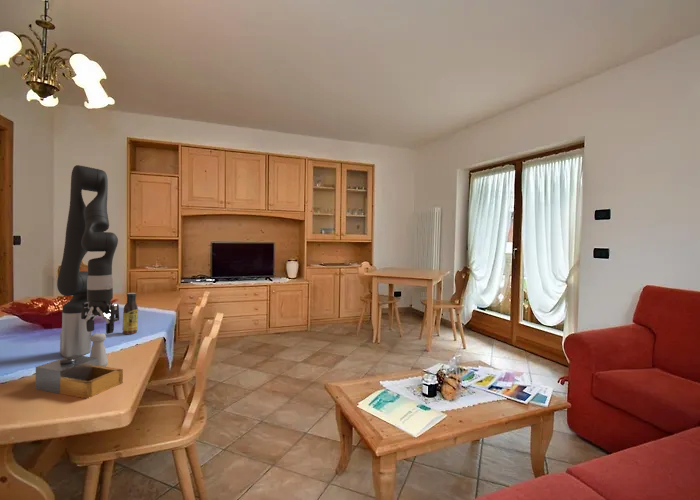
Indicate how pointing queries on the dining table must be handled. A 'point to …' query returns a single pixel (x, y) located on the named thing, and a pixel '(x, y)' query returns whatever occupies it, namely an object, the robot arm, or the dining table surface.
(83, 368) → the wooden open box
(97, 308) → the robot arm
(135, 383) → the dining table surface
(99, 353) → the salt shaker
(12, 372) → the dining table surface
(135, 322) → the sauce bottle
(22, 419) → the dining table surface
